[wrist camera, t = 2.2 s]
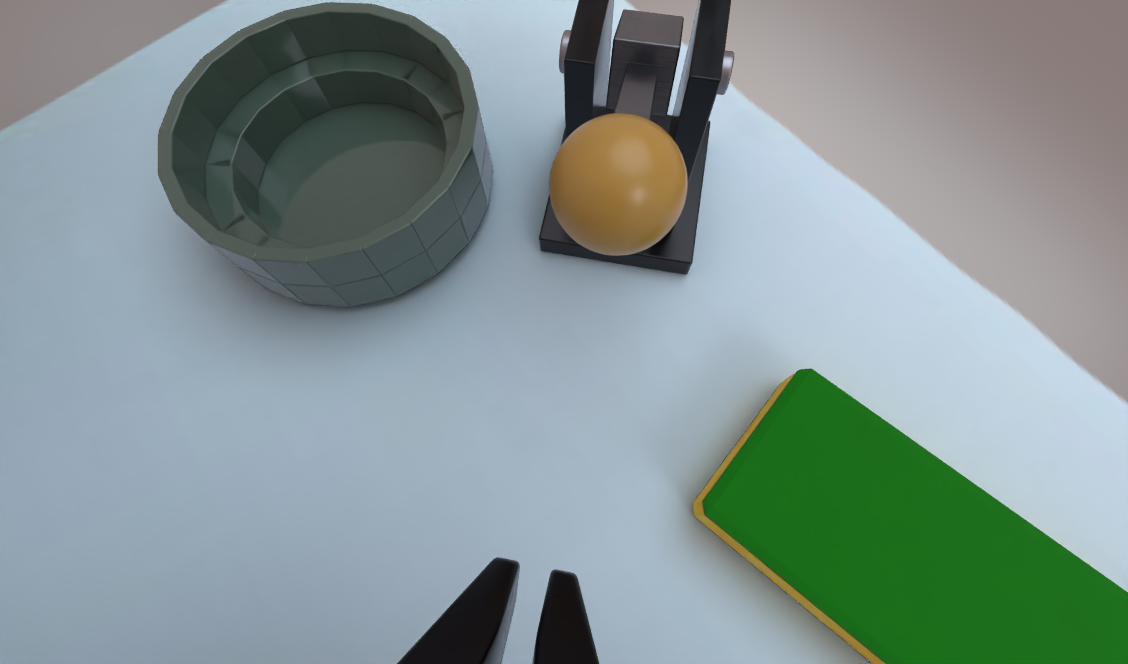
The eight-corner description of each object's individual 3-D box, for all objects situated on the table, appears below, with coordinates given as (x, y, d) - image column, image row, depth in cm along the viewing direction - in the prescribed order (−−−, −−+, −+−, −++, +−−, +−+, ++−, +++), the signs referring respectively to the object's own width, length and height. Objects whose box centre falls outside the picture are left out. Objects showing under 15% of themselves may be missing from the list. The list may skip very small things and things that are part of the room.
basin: (518, 274, 26) (506, 217, 21) (234, 341, 25) (156, 296, 20) (467, 64, 30) (447, -22, 26) (224, 114, 30) (157, 35, 25)
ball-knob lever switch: (687, 275, 26) (748, 132, 17) (540, 251, 26) (520, 99, 17) (705, 136, 28) (767, -54, 19) (571, 117, 29) (569, -76, 20)
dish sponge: (1016, 784, 19) (1076, 818, 17) (686, 510, 22) (699, 507, 20) (1100, 607, 21) (1165, 617, 18) (783, 378, 24) (805, 362, 22)
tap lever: (668, 293, 15) (700, 174, 12) (534, 271, 15) (537, 149, 12) (685, 100, 22) (708, -1, 19) (596, 88, 22) (606, -13, 20)
